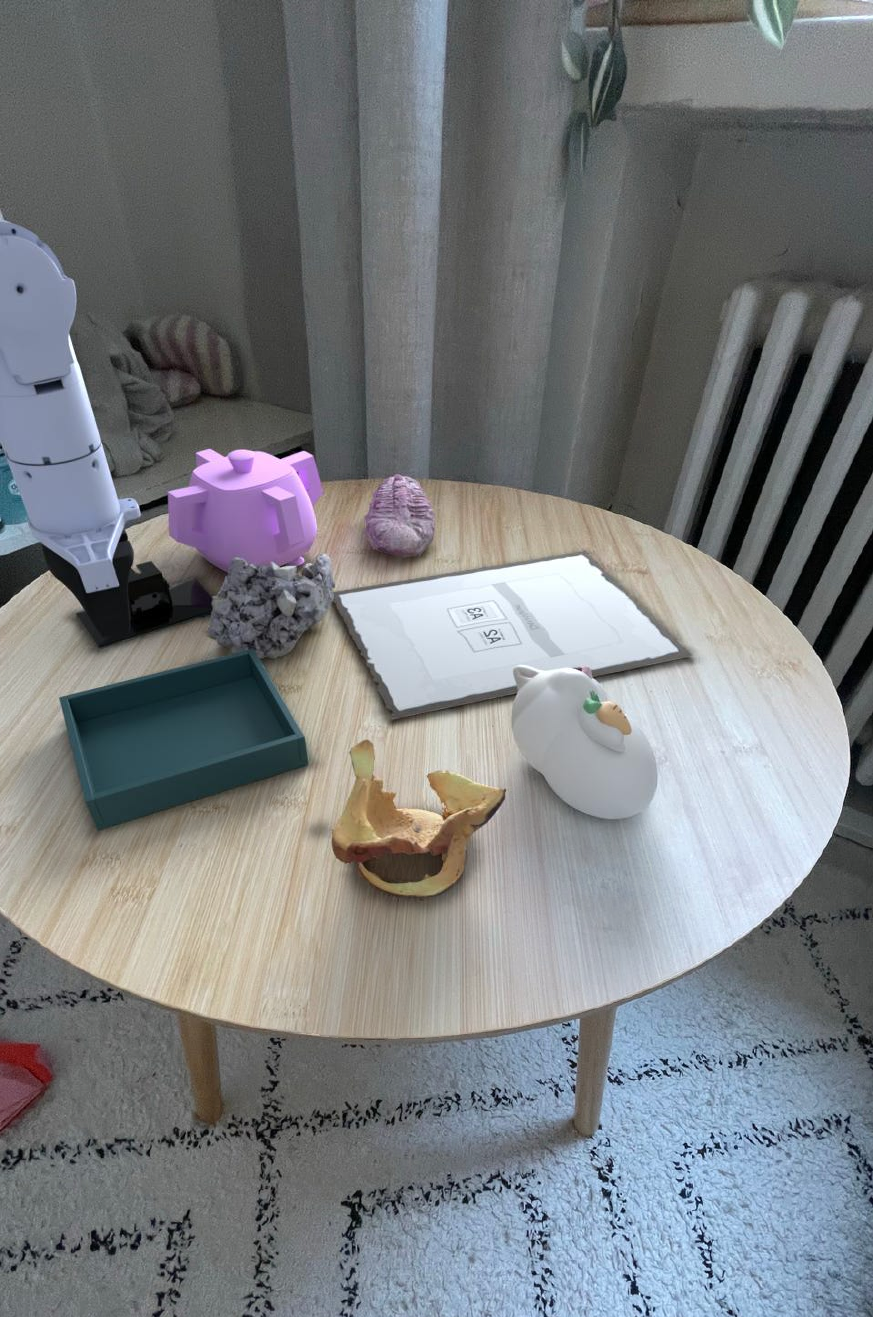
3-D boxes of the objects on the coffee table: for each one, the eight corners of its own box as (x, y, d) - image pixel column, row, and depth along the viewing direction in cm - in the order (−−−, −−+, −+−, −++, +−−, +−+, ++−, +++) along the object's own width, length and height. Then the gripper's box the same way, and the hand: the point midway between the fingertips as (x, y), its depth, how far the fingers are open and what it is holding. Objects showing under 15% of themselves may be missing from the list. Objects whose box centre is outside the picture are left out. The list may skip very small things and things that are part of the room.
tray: (97, 830, 56) (85, 801, 54) (70, 725, 64) (58, 696, 62) (308, 765, 61) (305, 736, 59) (258, 675, 70) (253, 648, 68)
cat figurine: (681, 740, 50) (543, 611, 58) (585, 820, 50) (461, 680, 58) (693, 792, 58) (570, 672, 66) (610, 860, 58) (498, 733, 66)
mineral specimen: (340, 567, 77) (288, 507, 68) (366, 640, 73) (314, 587, 64) (239, 623, 79) (176, 573, 70) (259, 697, 75) (195, 654, 67)
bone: (357, 936, 50) (349, 852, 44) (310, 833, 56) (298, 747, 50) (519, 877, 53) (531, 792, 48) (457, 786, 60) (462, 702, 54)
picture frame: (391, 720, 65) (692, 656, 73) (391, 718, 65) (693, 654, 73) (328, 593, 80) (585, 552, 88) (328, 591, 80) (585, 549, 87)
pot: (230, 621, 76) (208, 507, 68) (144, 557, 85) (115, 449, 77) (370, 562, 85) (365, 456, 77) (279, 510, 94) (266, 409, 86)
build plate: (194, 581, 82) (186, 540, 78) (223, 612, 77) (215, 570, 74) (75, 615, 76) (61, 573, 73) (99, 650, 72) (85, 607, 69)
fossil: (430, 508, 95) (432, 466, 92) (438, 565, 85) (440, 520, 82) (364, 507, 95) (363, 465, 91) (364, 565, 85) (363, 520, 81)
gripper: (142, 479, 45) (191, 667, 55) (99, 401, 54) (148, 574, 64) (13, 502, 43) (88, 694, 52) (-9, 417, 52) (58, 593, 62)
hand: (114, 630), depth 58 cm, fingers closed
